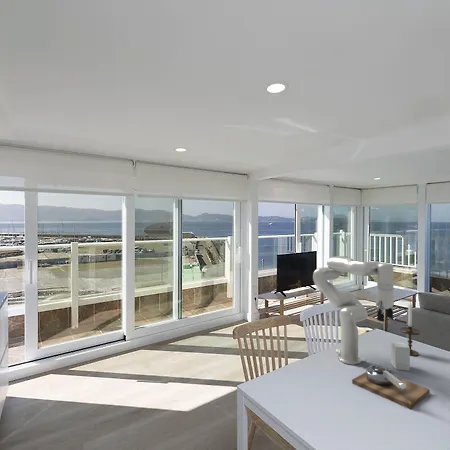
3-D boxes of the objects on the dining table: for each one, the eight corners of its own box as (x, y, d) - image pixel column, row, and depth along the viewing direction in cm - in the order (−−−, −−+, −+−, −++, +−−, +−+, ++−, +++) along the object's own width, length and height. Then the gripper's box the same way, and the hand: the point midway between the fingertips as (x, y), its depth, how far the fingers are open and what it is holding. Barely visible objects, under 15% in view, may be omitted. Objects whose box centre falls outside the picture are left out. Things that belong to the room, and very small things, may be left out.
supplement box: (410, 371, 167) (410, 347, 167) (395, 369, 168) (395, 346, 168) (405, 365, 174) (405, 342, 174) (391, 363, 176) (391, 341, 176)
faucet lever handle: (361, 374, 158) (361, 361, 158) (382, 373, 160) (382, 360, 160) (392, 400, 134) (392, 385, 134) (417, 398, 136) (417, 384, 136)
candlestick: (424, 357, 185) (424, 299, 185) (406, 356, 185) (406, 299, 185) (413, 349, 196) (413, 295, 196) (396, 349, 196) (396, 295, 196)
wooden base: (352, 383, 153) (352, 379, 153) (373, 371, 166) (373, 367, 166) (410, 409, 132) (410, 404, 132) (429, 393, 144) (429, 388, 144)
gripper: (385, 283, 169) (385, 314, 169) (369, 287, 158) (369, 320, 158) (400, 286, 163) (400, 318, 163) (384, 290, 152) (384, 324, 152)
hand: (385, 319), depth 160 cm, fingers open, 9 cm apart
